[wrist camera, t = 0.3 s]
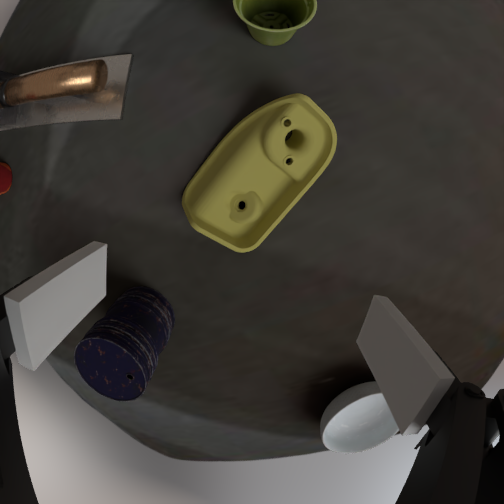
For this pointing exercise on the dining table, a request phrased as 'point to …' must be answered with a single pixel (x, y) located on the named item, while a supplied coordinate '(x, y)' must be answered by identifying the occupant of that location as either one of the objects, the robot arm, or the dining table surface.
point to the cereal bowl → (357, 420)
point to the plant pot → (274, 18)
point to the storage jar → (126, 344)
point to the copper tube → (54, 83)
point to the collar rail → (73, 100)
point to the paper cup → (5, 178)
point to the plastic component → (260, 172)
